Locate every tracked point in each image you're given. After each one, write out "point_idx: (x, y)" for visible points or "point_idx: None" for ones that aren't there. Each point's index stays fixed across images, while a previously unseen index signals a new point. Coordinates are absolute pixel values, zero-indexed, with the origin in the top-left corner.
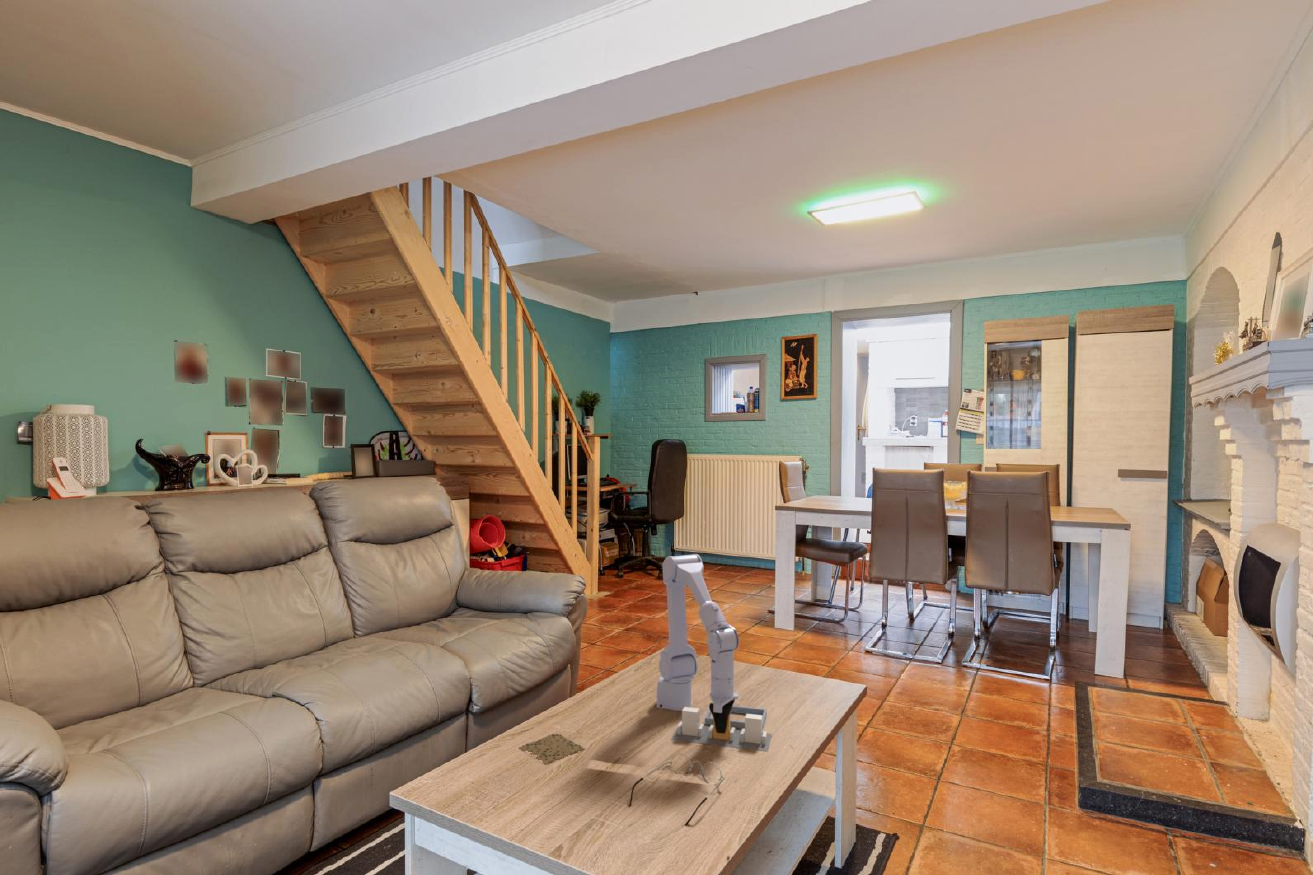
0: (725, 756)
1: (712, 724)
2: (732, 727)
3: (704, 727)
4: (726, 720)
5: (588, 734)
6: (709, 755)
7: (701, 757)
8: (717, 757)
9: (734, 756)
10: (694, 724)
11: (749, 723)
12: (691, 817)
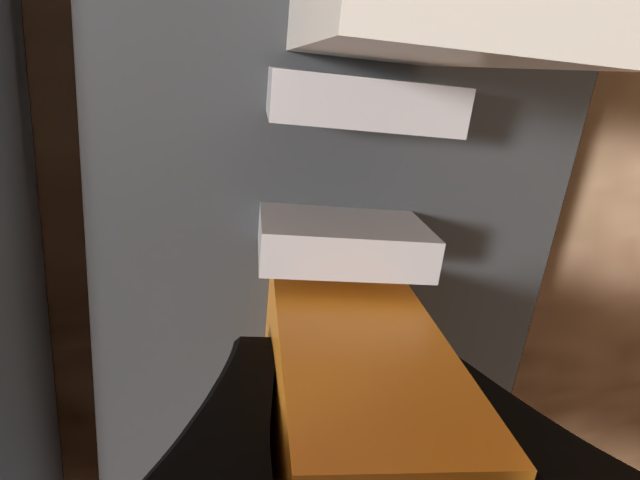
0: (585, 245)
1: (35, 465)
2: (264, 269)
3: None
4: (604, 457)
5: None
6: (565, 369)
7: (596, 416)
8: (600, 307)
9: (587, 165)
10: None
11: None
12: None
